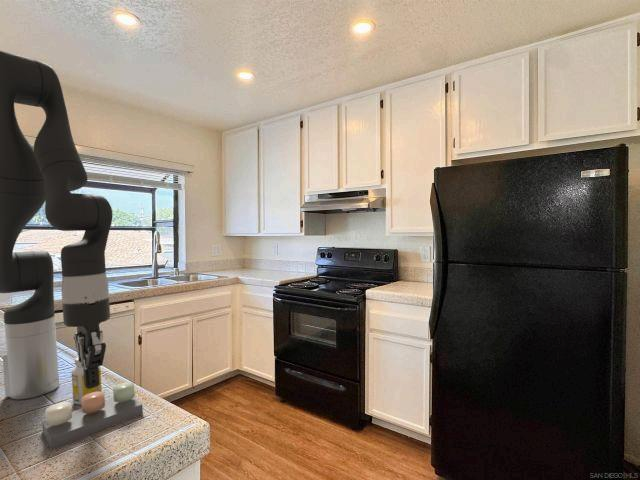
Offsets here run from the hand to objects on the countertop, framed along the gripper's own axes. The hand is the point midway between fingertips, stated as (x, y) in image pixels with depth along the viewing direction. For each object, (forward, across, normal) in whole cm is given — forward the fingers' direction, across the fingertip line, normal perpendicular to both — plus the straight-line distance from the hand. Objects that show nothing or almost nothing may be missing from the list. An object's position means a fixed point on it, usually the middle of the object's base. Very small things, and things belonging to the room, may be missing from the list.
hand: (92, 386), depth 69 cm
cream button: (+4, 0, -5) cm, 7 cm away
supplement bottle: (+7, -13, +2) cm, 15 cm away
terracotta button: (+4, 0, 0) cm, 4 cm away
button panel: (+7, 0, 0) cm, 7 cm away
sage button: (+4, 0, +6) cm, 7 cm away
